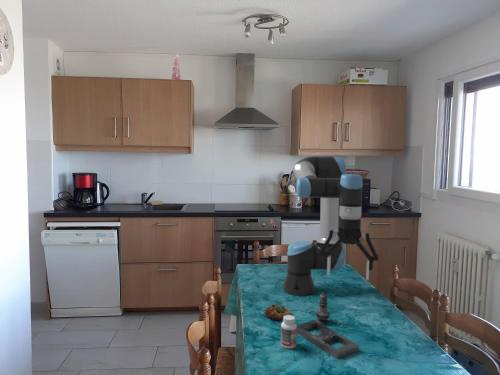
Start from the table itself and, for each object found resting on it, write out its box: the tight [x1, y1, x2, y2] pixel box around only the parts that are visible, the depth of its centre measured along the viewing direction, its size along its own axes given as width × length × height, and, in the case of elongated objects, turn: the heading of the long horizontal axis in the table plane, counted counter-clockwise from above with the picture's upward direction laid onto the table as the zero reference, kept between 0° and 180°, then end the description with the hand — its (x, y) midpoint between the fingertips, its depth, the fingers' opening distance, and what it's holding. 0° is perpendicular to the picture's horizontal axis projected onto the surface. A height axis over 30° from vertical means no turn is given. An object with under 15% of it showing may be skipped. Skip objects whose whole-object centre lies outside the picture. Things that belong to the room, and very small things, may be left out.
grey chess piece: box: [314, 291, 331, 326], centre depth 147 cm, size 6×6×12 cm
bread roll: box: [264, 304, 292, 322], centre depth 153 cm, size 11×11×5 cm
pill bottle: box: [280, 314, 298, 349], centre depth 128 cm, size 5×5×10 cm
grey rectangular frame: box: [296, 319, 360, 360], centre depth 132 cm, size 22×10×2 cm, turn 32°
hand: (347, 276), depth 135 cm, fingers open, 13 cm apart
